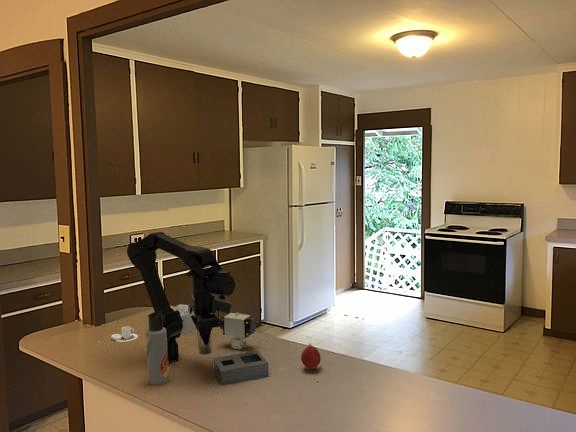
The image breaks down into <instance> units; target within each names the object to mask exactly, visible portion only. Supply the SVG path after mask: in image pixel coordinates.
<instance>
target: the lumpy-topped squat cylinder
mask: <svg viewBox="0 0 576 432" xmlns="http://www.w3.org/2000/svg"><path fill="white" fill-rule="evenodd" d="M188 305H189V304H182V303H180V304H179V303H178V305H176V306H173V305H170V307H171V308H172V309H173V310H174V311H176V310H179V312H180V315H181V318H182V320H183V322H182V323H183V329H182V331H181V334H182V335H185V333H186V334H188V332H189V333H191V332H192V331H194V330H196V327H195V324H194V322H193V320H192V318H191V316H192V315H194V314H193V311H192V314H190V313H189V312H188Z"/></svg>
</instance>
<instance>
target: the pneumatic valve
mask: <svg viewBox="0 0 576 432" xmlns="http://www.w3.org/2000/svg"><path fill="white" fill-rule="evenodd" d="M220 323H221V326H220V327H219V329H220V330H222V336H223V335H224V336H230V337H231V338H230V340H229V343H230V346H231V349H235V350H242V349H243V348H246V347H247V344H248V341H247V338H249V337H250V336H251V335H254V334H255V332H256V330H257V322H256V320H254V318H253V315H252V314H251V315H250V314H244V313H240V312H235V313H234V312H230V313H229V314H227V313H225V315H223V316H222V317H221V318H220Z"/></svg>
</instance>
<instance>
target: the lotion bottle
mask: <svg viewBox="0 0 576 432" xmlns="http://www.w3.org/2000/svg"><path fill="white" fill-rule="evenodd" d="M147 318H148V319H147V320H148V329H146V330H145V343H146V358H147V360H146V361H147V372H148V373H147V374H148V382H149V384H151V385H154V386H155V385H157V386H158V385H163V384H165V383H167V382H169V380H170V372H169V362H168V350H167V333H166V328H164V327H163V321H162V314H161V313H160V312H155V311H154V312H151V313H148V315H147Z"/></svg>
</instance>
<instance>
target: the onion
mask: <svg viewBox="0 0 576 432" xmlns="http://www.w3.org/2000/svg"><path fill="white" fill-rule="evenodd" d="M321 357H322V356H321V354H320V352H319V350H318V349H317V347H315V346H313V345H312V343H308V346H306V347H305V348H304V349H303V350H302V352H301V357H300V362H301V363H302V365H303V366H304V367H305V368H307V369H308V370H310V371H312V370H314V369H315V368H317V366H319V365H320V363H321Z"/></svg>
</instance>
